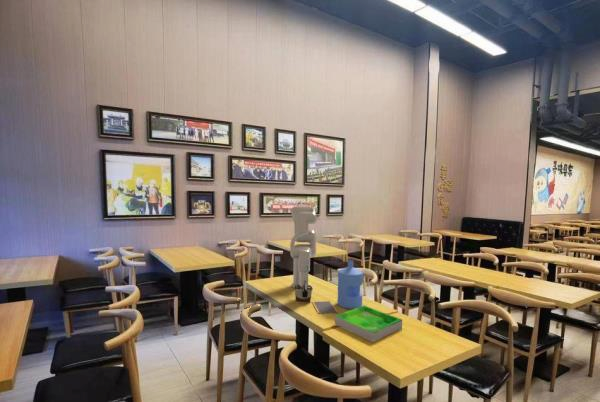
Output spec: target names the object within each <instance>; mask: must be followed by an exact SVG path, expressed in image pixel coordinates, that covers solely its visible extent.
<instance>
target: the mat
mask: <svg viewBox="0 0 600 402" xmlns="http://www.w3.org/2000/svg"><path fill="white" fill-rule="evenodd" d="M311 303H312V305H313V307H314V309H315V310H316V312H317V314H319V315H321V314H323V315H324V314H338V313H339V310H337V308H336V307H335V305H334V304H333V302H332V301H331V300H330V301H329V300H328V301H312V302H311Z"/></svg>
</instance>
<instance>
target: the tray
mask: <svg viewBox="0 0 600 402" xmlns="http://www.w3.org/2000/svg"><path fill="white" fill-rule="evenodd" d="M335 324H336V325H335ZM334 325H335V326H338V327H340V328H342V329H344V330H346V331H348V332H350V333H353V334H354V335H357V336H359V337H361V338H364V339H366V340H367V341H370V342H372V343H374V342H377V341H379V340H381V339H383V338H385V337H387V336H389V335H391V334H393V333H394V332H397V331H399V330H401V329H402V328H403V319H402V318H399V317H396V316H394V315H391V314H389V313H386V312H382V311H380V310H378V309H376V308H372V307H370V306H367V305H362V306H361V307H359V308H356V309H351V310H350V309H349V310H347V311H345V312H343V313H339V314H337V315H336V314H335V316H334Z"/></svg>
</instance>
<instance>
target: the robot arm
mask: <svg viewBox="0 0 600 402" xmlns="http://www.w3.org/2000/svg"><path fill="white" fill-rule="evenodd" d="M290 213H291V217H292V220H293V223H294V224H293V225H294V235H293V237H292V238H291V240H290V245H289V247H290V250H289V251H290V256H291V258H292V259H293V271H292V272H293V274H292V275H293V276H292V279H293V280H292V281H293V282H292V283H291V284H290V286H291V288H293V289H294V287H295V286H296V285H300V287H301V288H302V287H303V291H302V297H303V298H304V297H307V294H308V291H307V287H308V285H309V272H310V271H311V258H314V257H315V256H316V254H317V238H316V237H317V236H316V232H315V230H313V229H309V225H310V224H311V225H313V224H316V222H317V213H316V209H315V207H314V206H309V205H308V206H307V205H305V206H304V205H303V206H302V205H298V206H293V207H291V211H290ZM295 243H297V244H295ZM298 243H299V244H298ZM301 243H302V244H301ZM306 243H307V244H306Z"/></svg>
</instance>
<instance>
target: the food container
mask: <svg viewBox="0 0 600 402" xmlns="http://www.w3.org/2000/svg"><path fill="white" fill-rule="evenodd" d="M293 290H294V294H295V295H294V297H295V303H306V304H307V303H309V304H310V303H312V302H311V300H312V299H311V298H312V292H313V286H312V285H310V284H308V287H307V291H308V294H307V297H304V298H303V297H302V291H303V287H302V288H301V287H300V285H296V286H295V287H294V288H293Z"/></svg>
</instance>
